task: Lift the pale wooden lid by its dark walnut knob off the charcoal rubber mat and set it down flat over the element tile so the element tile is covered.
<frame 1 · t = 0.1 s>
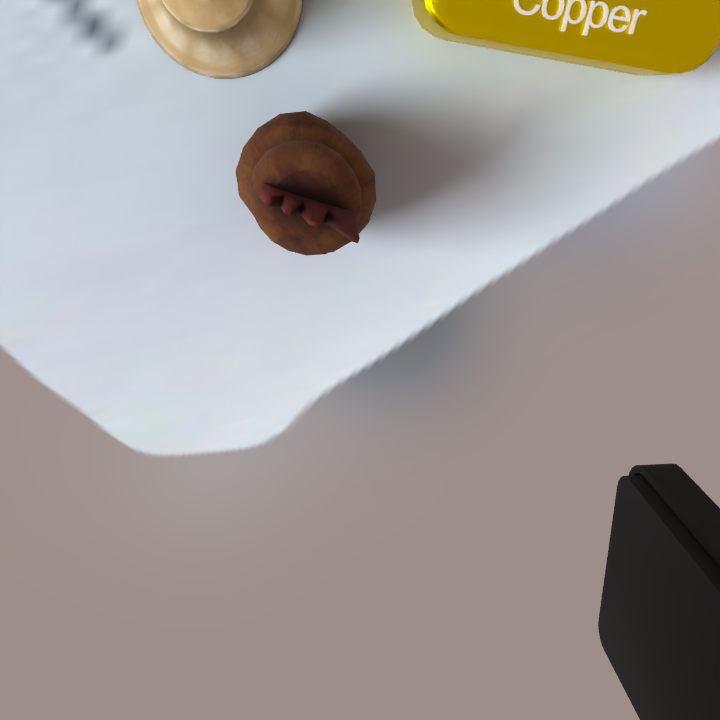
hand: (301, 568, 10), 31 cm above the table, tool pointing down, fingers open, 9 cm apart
wooden figurine: (308, 172, 38), on the table
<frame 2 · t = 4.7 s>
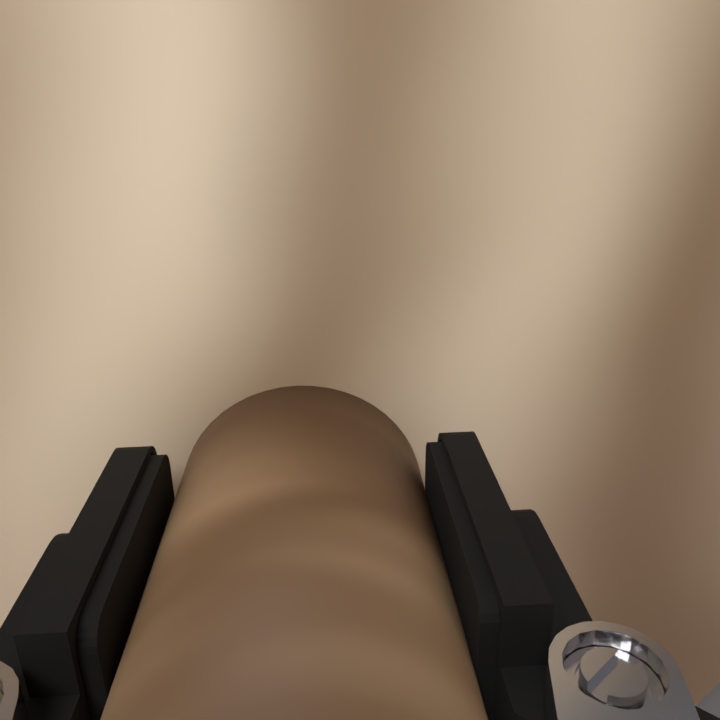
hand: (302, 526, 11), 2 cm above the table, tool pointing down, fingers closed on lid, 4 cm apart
lid: (304, 469, 12), point 1 cm above the table, touching gripper, mat
mat: (304, 452, 13), on the table
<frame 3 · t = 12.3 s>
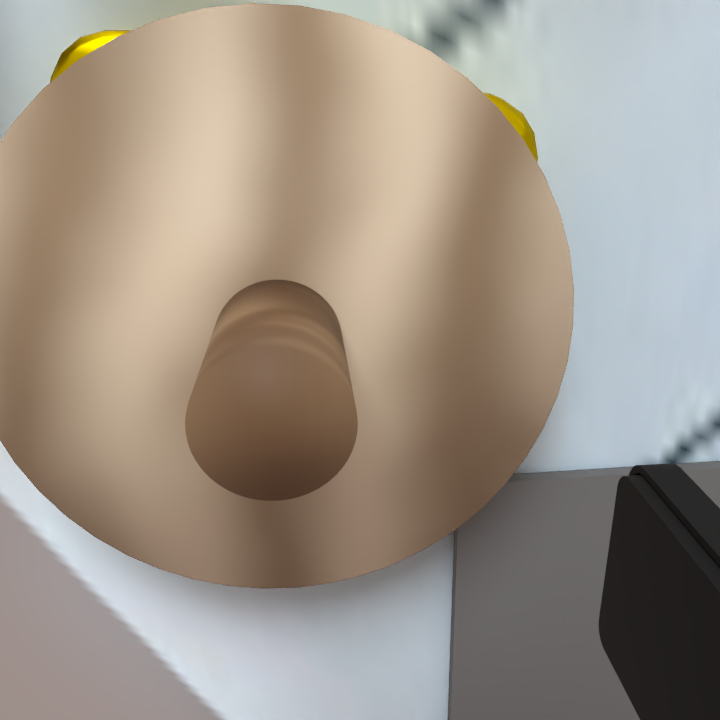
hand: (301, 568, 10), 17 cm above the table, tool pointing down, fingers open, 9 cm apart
lid: (279, 333, 22), point 4 cm above the table, touching element tile
mat: (665, 654, 35), on the table
element tile: (284, 274, 27), on the table, touching lid
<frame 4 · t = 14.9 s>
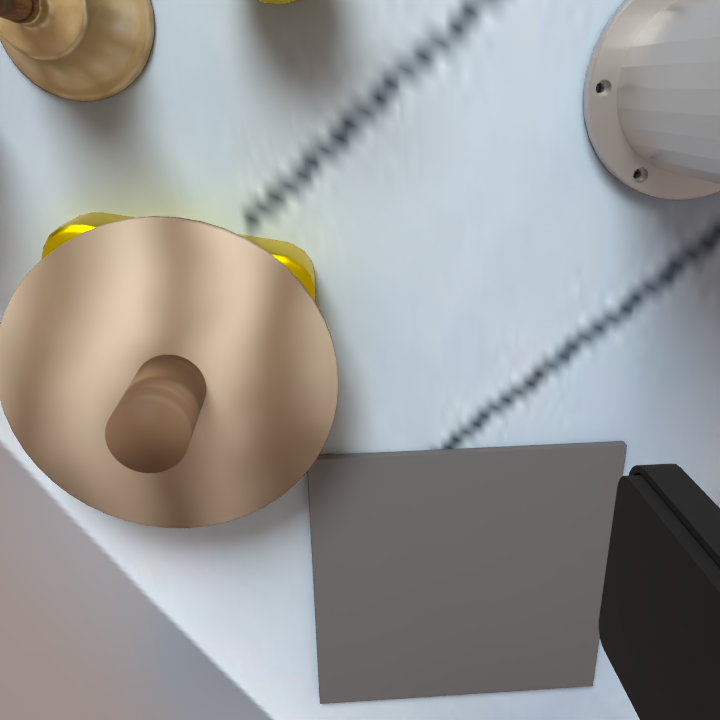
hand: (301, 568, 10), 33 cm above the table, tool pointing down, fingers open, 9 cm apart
lid: (173, 381, 40), point 4 cm above the table, touching element tile
mat: (461, 578, 52), on the table
element tile: (186, 340, 44), on the table, touching lid
hand bell: (76, 17, 37), on the table
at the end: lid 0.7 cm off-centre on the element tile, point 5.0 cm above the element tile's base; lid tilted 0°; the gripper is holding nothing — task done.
